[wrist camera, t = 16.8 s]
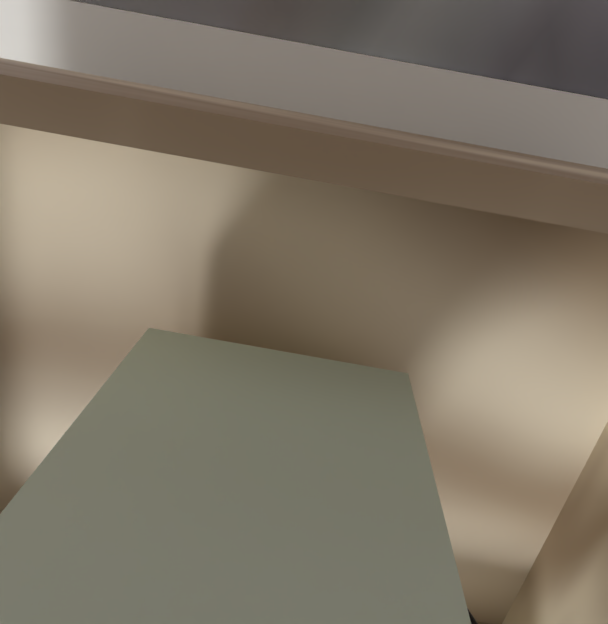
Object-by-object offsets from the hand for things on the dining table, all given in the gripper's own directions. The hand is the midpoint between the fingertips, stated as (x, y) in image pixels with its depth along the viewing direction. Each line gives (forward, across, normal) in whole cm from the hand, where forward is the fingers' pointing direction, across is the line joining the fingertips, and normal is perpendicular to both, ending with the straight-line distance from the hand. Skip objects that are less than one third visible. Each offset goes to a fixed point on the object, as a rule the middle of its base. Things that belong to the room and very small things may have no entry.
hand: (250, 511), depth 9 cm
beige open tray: (+7, 0, 0) cm, 7 cm away
